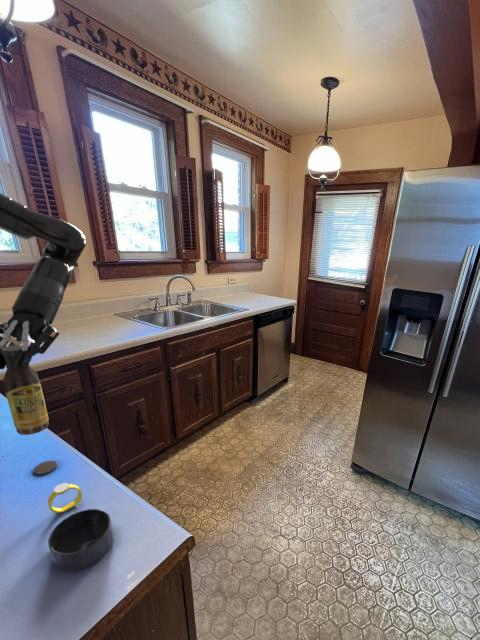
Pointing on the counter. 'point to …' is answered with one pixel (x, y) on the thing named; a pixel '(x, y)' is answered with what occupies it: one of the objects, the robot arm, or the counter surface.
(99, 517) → the pan
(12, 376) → the sauce bottle
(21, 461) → the counter surface
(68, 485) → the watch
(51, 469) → the brown flat disc
